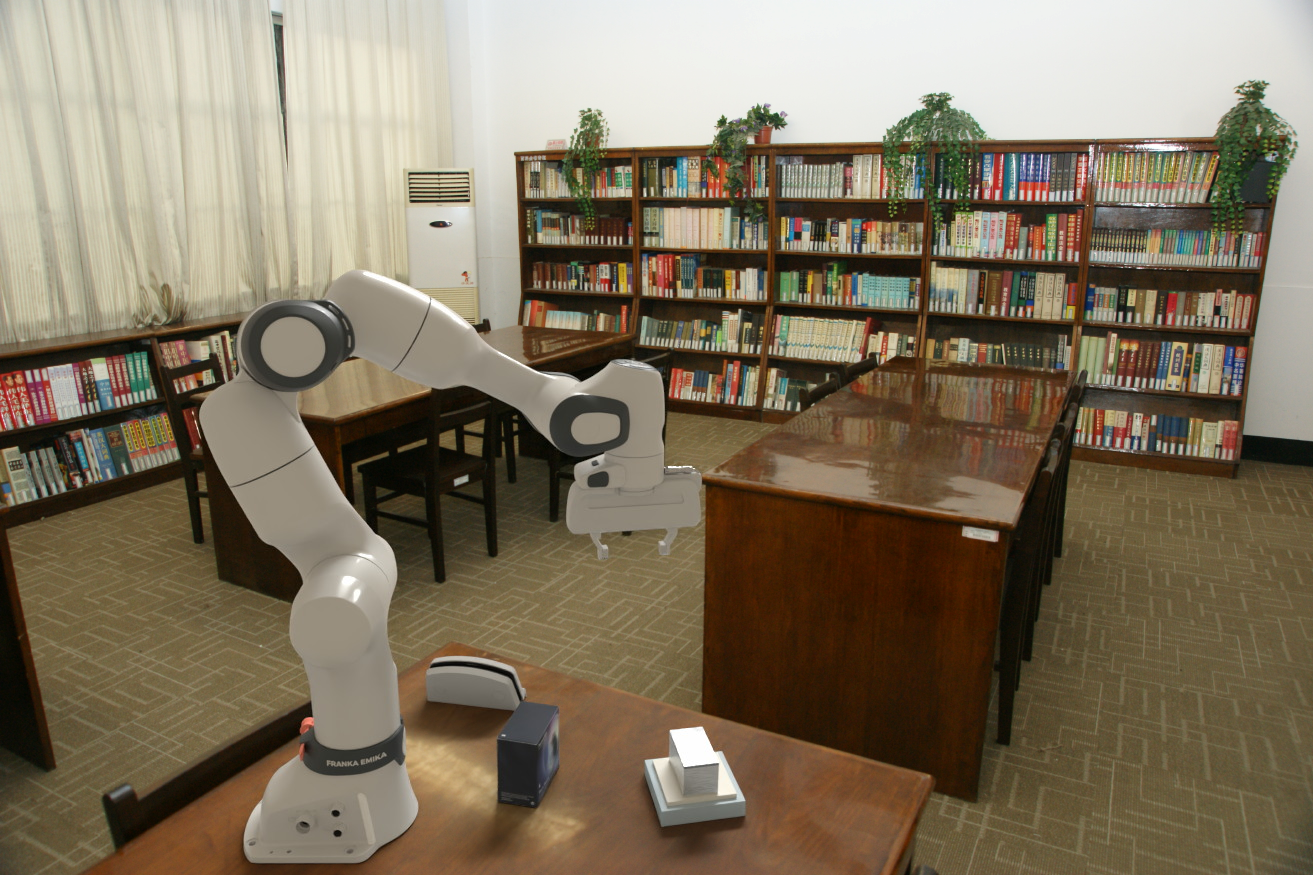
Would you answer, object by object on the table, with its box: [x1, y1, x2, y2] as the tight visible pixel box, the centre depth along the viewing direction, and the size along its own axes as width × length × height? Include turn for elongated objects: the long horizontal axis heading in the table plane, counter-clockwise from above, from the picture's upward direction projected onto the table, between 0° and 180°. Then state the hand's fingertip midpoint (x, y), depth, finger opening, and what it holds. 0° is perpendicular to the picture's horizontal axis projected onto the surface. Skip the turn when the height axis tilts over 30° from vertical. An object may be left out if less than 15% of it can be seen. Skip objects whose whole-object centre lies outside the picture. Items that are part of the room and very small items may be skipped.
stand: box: [643, 750, 747, 828], centre depth 131 cm, size 12×12×3 cm
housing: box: [668, 726, 719, 798], centre depth 130 cm, size 9×5×5 cm, turn 12°
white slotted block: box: [424, 655, 527, 712], centre depth 153 cm, size 17×5×10 cm, turn 80°
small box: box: [496, 700, 560, 809], centre depth 132 cm, size 11×6×10 cm, turn 168°
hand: (633, 555), depth 137 cm, fingers open, 8 cm apart
